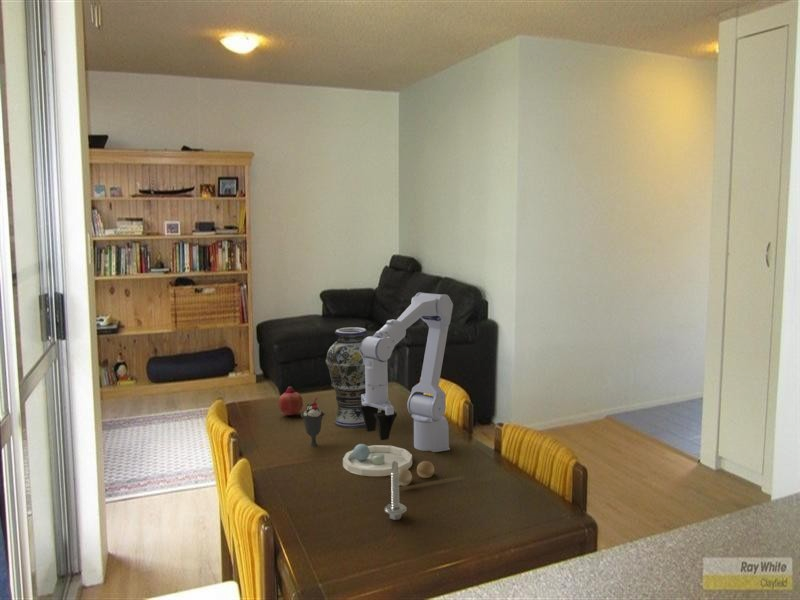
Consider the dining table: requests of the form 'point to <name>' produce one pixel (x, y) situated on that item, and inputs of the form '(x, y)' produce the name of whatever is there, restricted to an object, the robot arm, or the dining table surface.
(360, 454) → the bead blue
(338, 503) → the dining table surface
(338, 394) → the vase
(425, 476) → the bead oak
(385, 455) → the tray
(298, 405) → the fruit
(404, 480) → the bead birch
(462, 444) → the dining table surface
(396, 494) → the screw
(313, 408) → the sundae
